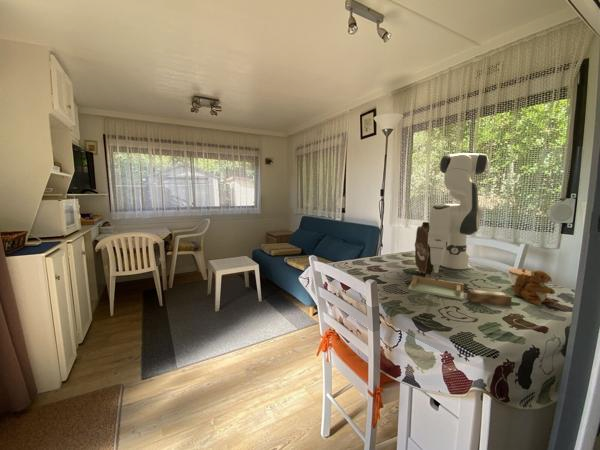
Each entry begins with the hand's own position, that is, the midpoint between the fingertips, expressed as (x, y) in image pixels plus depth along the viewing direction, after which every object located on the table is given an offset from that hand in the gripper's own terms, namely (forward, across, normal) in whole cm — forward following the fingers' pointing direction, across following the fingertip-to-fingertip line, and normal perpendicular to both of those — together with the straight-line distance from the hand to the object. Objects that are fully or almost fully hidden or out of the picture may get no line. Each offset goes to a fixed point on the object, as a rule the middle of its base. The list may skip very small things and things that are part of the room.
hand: (436, 270), depth 114 cm
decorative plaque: (+10, -23, -8) cm, 26 cm away
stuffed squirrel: (+10, -14, +35) cm, 39 cm away
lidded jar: (+10, -30, +35) cm, 47 cm away
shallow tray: (+10, -2, 0) cm, 10 cm away
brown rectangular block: (+11, -1, +20) cm, 22 cm away
